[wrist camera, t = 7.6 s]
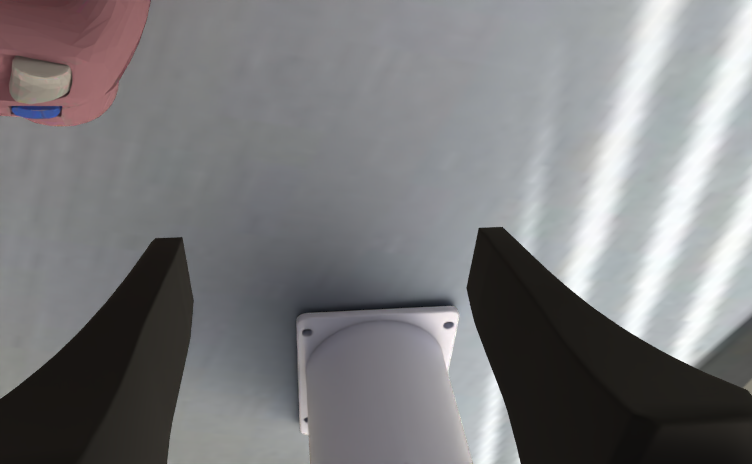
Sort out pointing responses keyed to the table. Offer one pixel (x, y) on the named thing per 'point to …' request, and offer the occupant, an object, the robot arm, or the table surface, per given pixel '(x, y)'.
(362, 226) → the table surface
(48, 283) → the table surface
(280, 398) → the table surface
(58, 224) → the table surface
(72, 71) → the video game controller
